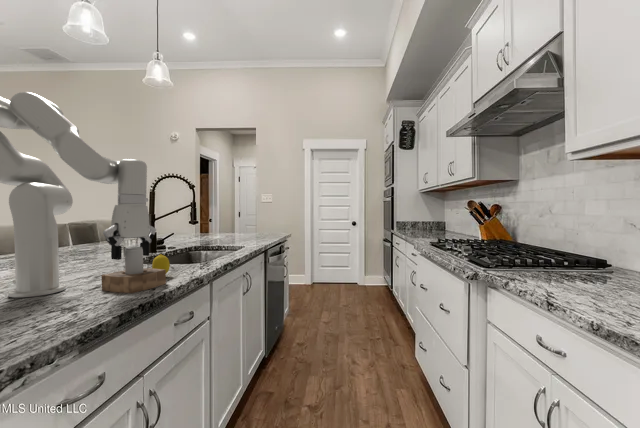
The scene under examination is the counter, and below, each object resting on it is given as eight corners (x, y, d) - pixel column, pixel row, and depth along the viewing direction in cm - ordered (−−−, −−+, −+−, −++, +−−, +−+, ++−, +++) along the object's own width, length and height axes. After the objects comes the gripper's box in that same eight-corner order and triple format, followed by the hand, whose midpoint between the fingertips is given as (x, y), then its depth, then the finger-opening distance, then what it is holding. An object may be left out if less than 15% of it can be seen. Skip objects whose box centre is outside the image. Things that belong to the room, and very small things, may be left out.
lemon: (173, 275, 115) (172, 253, 115) (162, 279, 110) (162, 255, 110) (159, 275, 117) (159, 253, 117) (148, 278, 111) (148, 255, 111)
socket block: (98, 290, 95) (98, 275, 95) (137, 281, 107) (137, 267, 107) (132, 293, 91) (132, 277, 90) (168, 283, 103) (168, 269, 103)
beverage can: (135, 289, 96) (134, 248, 96) (121, 288, 97) (120, 248, 97) (147, 285, 101) (146, 246, 100) (133, 285, 102) (132, 246, 101)
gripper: (146, 201, 108) (145, 253, 108) (95, 199, 92) (94, 260, 92) (164, 202, 105) (163, 254, 105) (114, 199, 89) (113, 262, 89)
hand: (131, 257), depth 99 cm, fingers open, 9 cm apart
